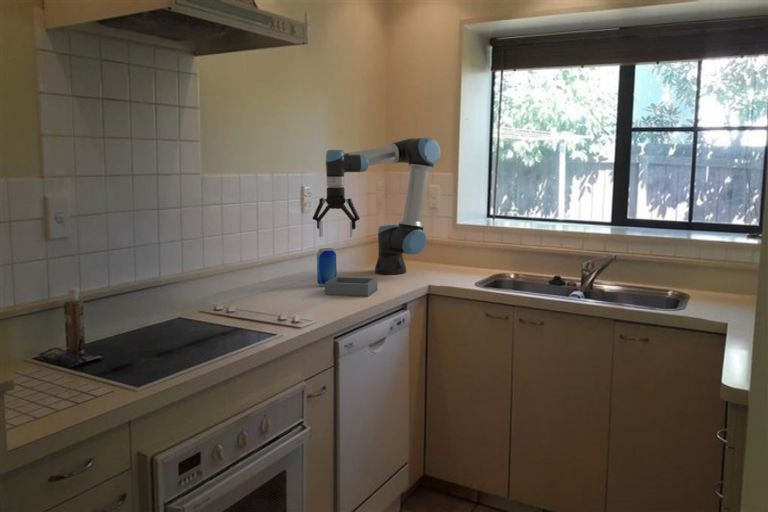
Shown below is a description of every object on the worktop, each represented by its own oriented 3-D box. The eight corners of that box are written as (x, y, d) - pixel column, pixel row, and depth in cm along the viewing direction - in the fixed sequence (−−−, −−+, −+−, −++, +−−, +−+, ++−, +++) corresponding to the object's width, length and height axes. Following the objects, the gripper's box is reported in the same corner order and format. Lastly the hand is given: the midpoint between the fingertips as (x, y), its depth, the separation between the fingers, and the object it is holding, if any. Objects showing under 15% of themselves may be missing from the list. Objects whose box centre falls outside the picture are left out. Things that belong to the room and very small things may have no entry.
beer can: (321, 287, 282) (320, 250, 280) (315, 284, 290) (314, 248, 287) (339, 286, 286) (338, 249, 283) (333, 282, 293) (332, 247, 291)
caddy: (336, 288, 281) (336, 276, 281) (377, 289, 277) (377, 278, 276) (325, 294, 268) (324, 282, 267) (367, 296, 263) (367, 284, 263)
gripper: (304, 187, 277) (305, 237, 280) (361, 187, 272) (362, 238, 275) (310, 186, 284) (311, 235, 287) (366, 186, 279) (366, 236, 282)
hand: (336, 236), depth 281 cm, fingers open, 13 cm apart
